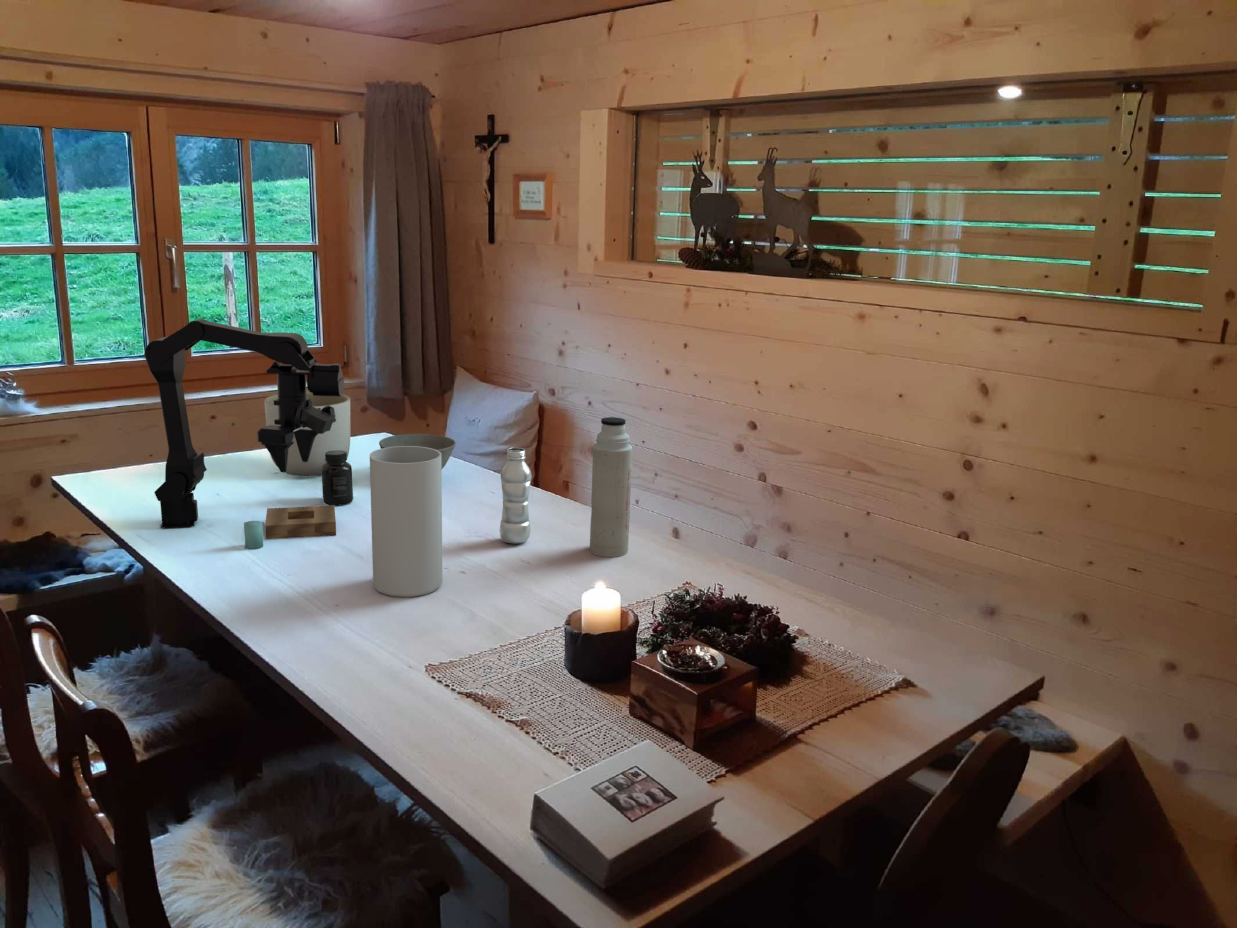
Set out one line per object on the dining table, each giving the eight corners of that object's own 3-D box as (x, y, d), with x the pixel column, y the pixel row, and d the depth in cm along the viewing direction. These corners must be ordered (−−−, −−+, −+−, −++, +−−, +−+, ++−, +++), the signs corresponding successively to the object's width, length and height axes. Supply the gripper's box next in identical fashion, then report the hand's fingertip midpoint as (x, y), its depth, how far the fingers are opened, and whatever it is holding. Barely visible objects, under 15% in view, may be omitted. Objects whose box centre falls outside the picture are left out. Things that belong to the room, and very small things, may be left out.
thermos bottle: (631, 546, 205) (637, 416, 198) (623, 558, 197) (629, 424, 190) (594, 542, 206) (598, 413, 199) (585, 554, 199) (589, 421, 192)
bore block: (265, 539, 200) (264, 525, 200) (267, 521, 211) (267, 508, 211) (336, 535, 204) (335, 521, 204) (334, 517, 216) (334, 505, 215)
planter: (255, 479, 242) (250, 404, 237) (286, 459, 262) (282, 389, 257) (337, 483, 242) (335, 408, 237) (362, 462, 262) (360, 393, 257)
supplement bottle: (357, 498, 230) (355, 449, 227) (346, 507, 223) (345, 456, 220) (329, 497, 231) (327, 447, 227) (318, 505, 224) (315, 455, 221)
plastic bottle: (493, 543, 203) (493, 450, 198) (511, 534, 209) (512, 444, 204) (518, 549, 201) (520, 455, 196) (536, 540, 206) (538, 448, 201)
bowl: (365, 484, 241) (364, 445, 239) (403, 467, 259) (402, 430, 256) (433, 493, 236) (433, 454, 234) (467, 475, 254) (467, 437, 251)
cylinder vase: (374, 600, 172) (370, 464, 166) (372, 575, 184) (368, 447, 177) (445, 596, 175) (444, 462, 169) (439, 571, 187) (438, 445, 181)
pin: (244, 550, 194) (243, 526, 193) (245, 544, 197) (244, 521, 196) (262, 549, 195) (261, 525, 194) (263, 543, 198) (262, 520, 197)
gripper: (305, 406, 192) (308, 482, 196) (348, 390, 210) (349, 460, 214) (254, 401, 194) (257, 476, 198) (300, 386, 212) (302, 455, 216)
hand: (294, 466), depth 206 cm, fingers open, 9 cm apart
